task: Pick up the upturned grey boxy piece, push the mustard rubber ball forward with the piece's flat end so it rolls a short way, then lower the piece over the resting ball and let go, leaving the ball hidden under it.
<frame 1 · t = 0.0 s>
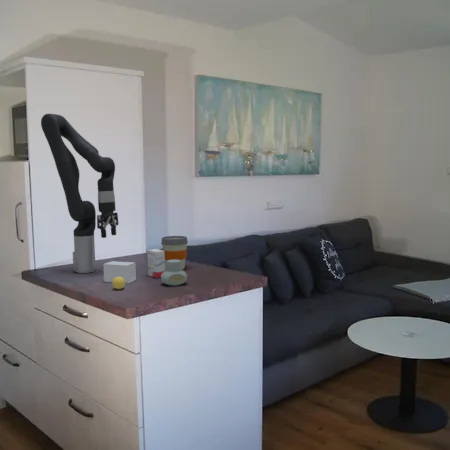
hand: (108, 236, 233), 17 cm above the worktop, fingers open, 8 cm apart
ball: (118, 282, 204), on the worktop
air freshener: (174, 284, 212), on the worktop
reusable coffee cup: (175, 268, 244), on the worktop
ink box: (156, 276, 228), on the worktop
grey boxy piece: (120, 280, 219), on the worktop
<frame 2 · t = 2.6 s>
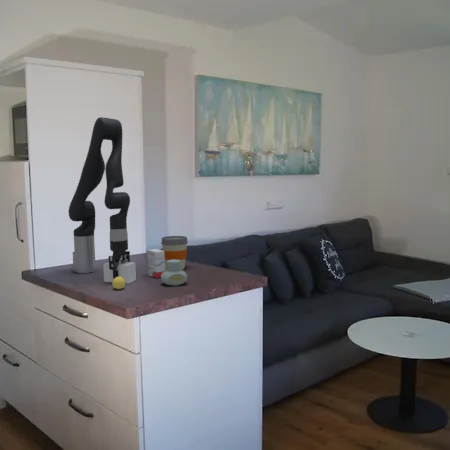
hand: (120, 277, 218), 2 cm above the worktop, fingers closed on grey boxy piece, 6 cm apart
grey boxy piece: (120, 280, 219), on the worktop, touching gripper
everything else where it was.
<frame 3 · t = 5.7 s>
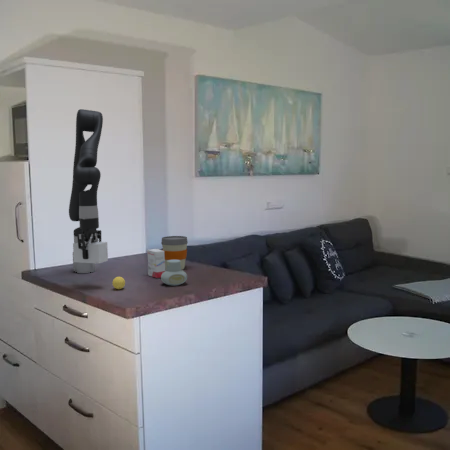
hand: (90, 257, 207), 12 cm above the worktop, fingers closed on grey boxy piece, 6 cm apart
grey boxy piece: (91, 261, 207), point 11 cm above the worktop, touching gripper
everything else where it was.
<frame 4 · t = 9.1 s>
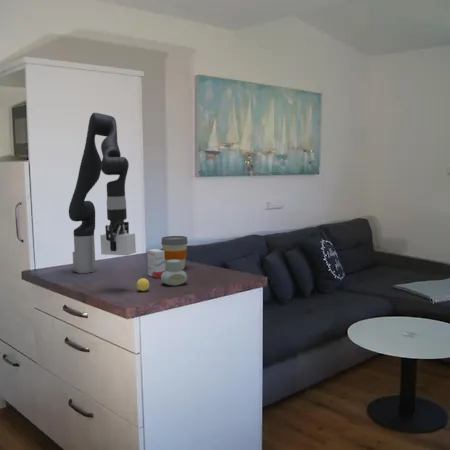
hand: (118, 249, 202), 16 cm above the worktop, fingers closed on grey boxy piece, 6 cm apart
ball: (143, 284, 200), on the worktop
grey boxy piece: (118, 253, 202), point 15 cm above the worktop, touching gripper
everything else where it was.
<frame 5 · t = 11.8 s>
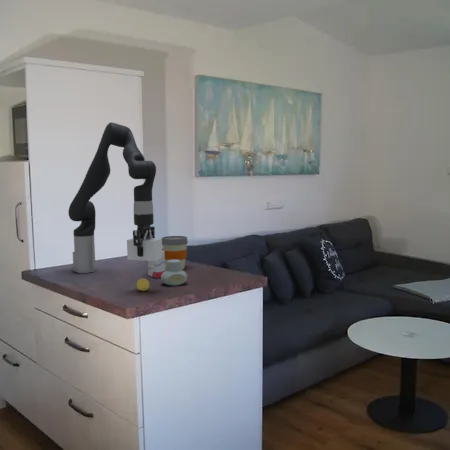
hand: (144, 254, 199), 15 cm above the worktop, fingers closed on grey boxy piece, 6 cm apart
grey boxy piece: (145, 258, 199), point 13 cm above the worktop, touching gripper
everything else where it was.
when the fingers open (2 cm above the worktop, at t = 14.5 s): grey boxy piece stays where it is, on the worktop.
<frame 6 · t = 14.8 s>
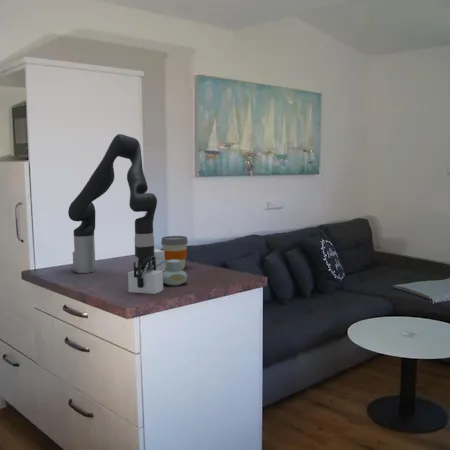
hand: (145, 285, 200), 2 cm above the worktop, fingers open, 8 cm apart
grey boxy piece: (145, 290, 201), on the worktop
everything else where it was.
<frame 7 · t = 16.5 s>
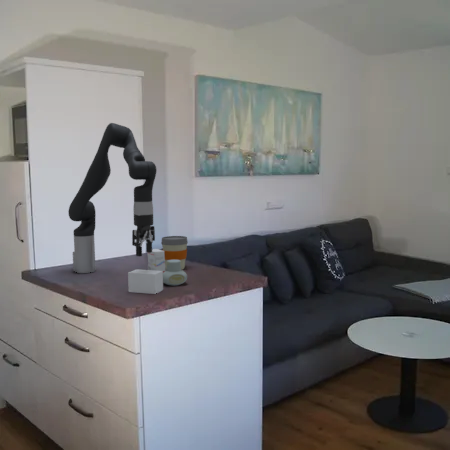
hand: (144, 254, 199), 15 cm above the worktop, fingers open, 8 cm apart
nothing on the worktop moved.
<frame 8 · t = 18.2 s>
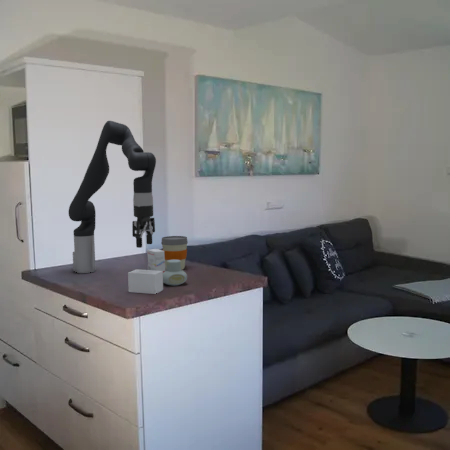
hand: (144, 245, 198), 18 cm above the worktop, fingers open, 8 cm apart
nothing on the worktop moved.
at the end: ball 1.1 cm from the grey boxy piece (horizontally); grey boxy piece on the worktop; ball moved 10.9 cm from its start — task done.
